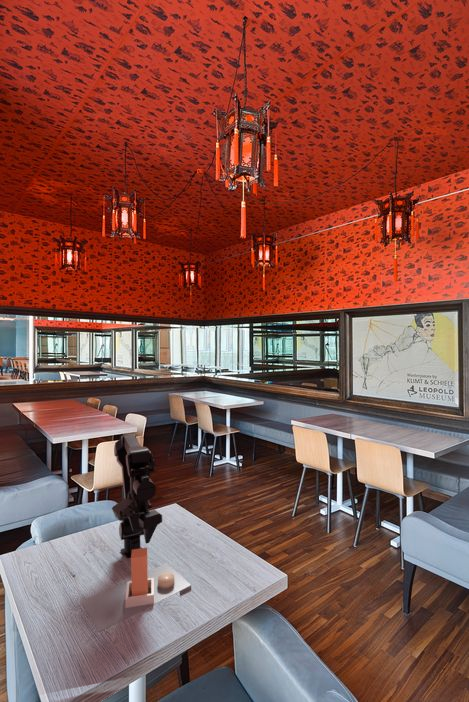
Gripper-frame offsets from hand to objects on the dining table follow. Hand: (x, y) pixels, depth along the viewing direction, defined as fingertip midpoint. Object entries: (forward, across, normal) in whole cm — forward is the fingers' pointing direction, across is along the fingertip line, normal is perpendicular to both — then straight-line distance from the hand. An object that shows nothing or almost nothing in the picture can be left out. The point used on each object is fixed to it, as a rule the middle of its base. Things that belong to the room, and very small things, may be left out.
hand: (140, 537), depth 119 cm
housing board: (+13, +8, -5) cm, 16 cm away
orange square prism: (+12, +10, -5) cm, 16 cm away
